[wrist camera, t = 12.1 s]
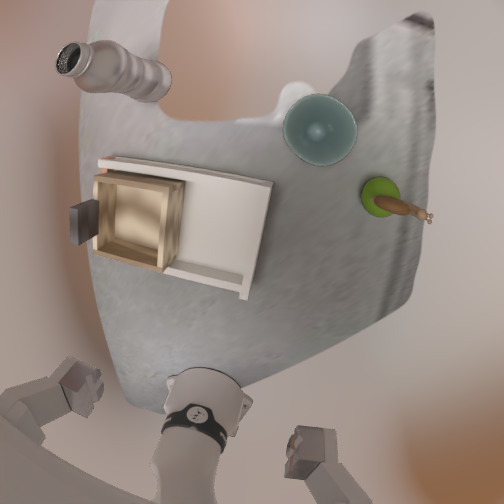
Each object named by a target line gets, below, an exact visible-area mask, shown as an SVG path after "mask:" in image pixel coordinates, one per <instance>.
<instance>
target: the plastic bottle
mask: <svg viewBox="0 0 504 504" xmlns="http://www.w3.org/2000/svg"><path fill="white" fill-rule="evenodd" d="M55 68H56V71H57V73H58V74H60V75H62V76H67V77H69V78H73V79H74V81H75V83H76V85H77V86H78V87H79V88H81V89H82V90H84V91H86V92H88V93H107V92H113V93H122V94H125V95H128V96H130V97H131V98H133V99H135V100H137V101H140V102H153V101H157V100H159V99H161V98H162V97H163V96H165V95H166V93H167V92H168V90H169V89H170V87H171V83H172V77H171V73H170V71H169V70H168V68H167V67H166V66H165V65H164V64H162V63H160V62H158V61H153V60H146V59H142V58H139V57H137V56H135V55H134V54H132V53H130V52H129V51H127V50H126V49H125V48H123V47H122V46H121V45H119V44H118V43H116V42H114V41H111V40H100V41H96V42H93V43H91V44H89V45H88V44H85V43H79V42H70V43H68V44H66V45H65V46H64V47H63V48H62V49H61V50H60V52H59V53H58V55H57V58H56V61H55Z"/></svg>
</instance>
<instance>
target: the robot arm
mask: <svg viewBox="0 0 504 504" xmlns="http://www.w3.org/2000/svg"><path fill="white" fill-rule="evenodd" d="M100 376H101V372H100V369H97V368H95V367H93V366H91V365H89V364H87V363H85V362H83V361H81V360H79V359H77V358H74V357H73V356H69V357H67V358H66V359H65V360H64V361H63V362H62V363H61V365H60V366H59V367H58V368H57V369H56V370H55V371H54V372H53V374H52V375H51V376H50V377H49V378H48V377H44V378H41V379H37V380H34V381H31V382H28V383H24V384H22V385H18V386H14V387H11V388H8V389H6V390H5V391H4V392H3V393H2V394H1V395H0V504H217V501H216V498H215V493H214V480H215V475H216V471H217V466H218V462H219V457H220V454H222V452H223V451H224V448H225V446H226V440H227V437H228V436H231V437H235V435H236V432H237V430H238V423H239V422H240V420H241V419H242V418H243V416H244V415H245V414H246V412H247V411H248V410H249V408H250V407H251V405H252V403H253V400H252V399H251V398H250V397H249V396H247V395H246V394H245V393H243V391H242V390H241V388H240V387H239V386H238V384H237V383H236V382H235V381H234V380H232V379H231V378H229V377H228V376H226V375H224V374H222V373H220V372H217V371H214V370H210V369H205V368H194V369H189V370H186V371H184V372H182V373H181V374H179V375H177V376H170V377H168V378H167V381H166V383H167V386H168V390H169V394H168V397H167V399H166V402H165V404H164V409H165V412H166V414H167V418H166V420H165V422H164V424H163V428H162V431H161V433H162V436H161V438H160V441H159V443H158V445H157V448H156V450H155V452H154V455H153V457H152V459H151V462H150V467H151V470H152V472H153V474H154V475H155V477H156V478H157V493H156V496H155V498H154V500H153V501H149V500H146V499H143V498H141V497H139V496H136V495H133V494H131V493H129V492H126V491H124V490H121V489H119V488H117V487H115V486H112V485H110V484H108V483H106V482H104V481H102V480H100V479H98V478H96V477H94V476H92V475H90V474H88V473H86V472H84V471H82V470H80V469H79V468H77V467H75V466H73V465H71V464H69V463H68V462H66V461H64V460H63V459H61V458H60V457H58V456H56V455H55V454H53V453H52V452H50V451H48V450H47V449H45V448H44V447H42V446H41V444H42V443H43V441H44V440H45V435H44V433H43V431H42V430H41V428H40V427H41V426H43V425H45V424H47V423H49V422H51V421H53V420H55V419H57V418H59V417H61V416H63V415H65V414H67V413H69V412H71V411H73V412H75V413H77V414H79V415H81V416H83V417H85V418H88V416H89V415H90V413H91V412H92V410H93V409H94V405H93V403H95V402H97V401H99V400H100V398H101V396H102V394H103V391H104V384H103V381H102V380H101V379H100ZM336 438H337V437H336V431H335V429H324V428H318V427H307V426H299V425H298V426H297V427H296V428H295V433H294V435H291V437H290V439H289V442H288V445H287V451H286V456H287V457H288V459H289V460H288V461H287V463H286V464H285V475H284V477H285V478H292V479H299V480H305V483H306V485H307V487H308V488H309V490H310V492H311V494H312V495H313V497H314V499H315V500H316V502H317V504H372V500H371V499H370V498H369V497H368V495H367V494H366V493H365V492H364V490H363V489H362V488H361V487H360V486H359V484H358V483H357V482H356V481H355V480H354V478H353V477H352V476H351V474H349V472H348V471H347V470H346V468H345V467H344V466H343V464H342V463H338V452H337V439H336Z"/></svg>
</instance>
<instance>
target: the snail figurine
mask: <svg viewBox="0 0 504 504" xmlns="http://www.w3.org/2000/svg"><path fill="white" fill-rule="evenodd" d="M361 199H362V203H363V206H364V208H365V209H366V210H367V211H368V212H369V213H370V214H371V215H373V216H376V217H387V216H390V215H391V214H393V213H394V214H398V215H407V214H408V213H409V214H411V215H413V216H415V217H417V218H418V219H419V220H427V217H428V215H429V218H433V214H428V213H427V212H426V211H425V210H424V209H420V208H419V207H417V206H415V205H413V204H410V203H407V202H405V201H402V200H400V193H399V190H398V188H397V186H396V185H395V183H394V182H392V181H391V180H389V179H387V178H384V177H375V178H373V179H371V180H369V181H368V182H367V183H366V184H365V185H364V187H363V189H362V193H361ZM427 221H428V224H431V223H432V220H430V219H429V220H427Z"/></svg>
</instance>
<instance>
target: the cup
mask: <svg viewBox="0 0 504 504" xmlns="http://www.w3.org/2000/svg"><path fill="white" fill-rule="evenodd" d="M357 131H358V130H357V124H356V121H355V119H354V116H353V115H352V113H351V112H350V110H349V109H348V108H347V107H346V106H345V105H344V104H343V103H342V102H340V101H339V100H337V99H335V98H334V97H331V96H329V95H326V94H311V95H308V96H305V97H303V98H302V99H300V100H298V101H297V102H296V103H295V104H294V105H293V106H292V107H291V108H290V109H289V111H288V112H287V114H286V116H285V119H284V122H283V135H284V139H285V141H286V143H287V145H288V146H289V148H290V150H291V151H292V152H293V153H294V154H295V155H296V156H297V157H299V158H300V159H301V160H303V161H305V162H307V163H309V164H312V165H315V166H329V165H332V164H335V163H337V162H339V161H340V160H342V159H343V158H344V157H346V156H347V155H348V153H349V152H350V151H351V150H352V148H353V146H354V145H355V142H356V139H357Z"/></svg>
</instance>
